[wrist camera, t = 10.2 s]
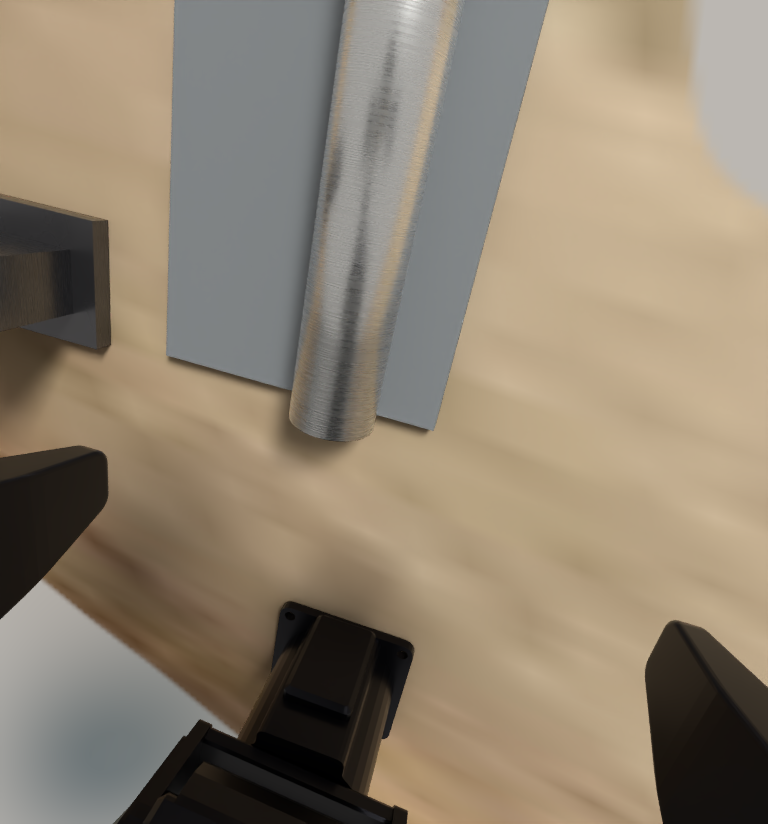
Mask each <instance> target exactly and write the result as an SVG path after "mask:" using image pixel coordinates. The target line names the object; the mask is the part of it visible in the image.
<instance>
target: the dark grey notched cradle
mask: <svg viewBox="0 0 768 824" xmlns="http://www.w3.org/2000/svg"><path fill="white" fill-rule="evenodd" d="M17 327H20V328H24V329H27V330H31V331H34V332H38V333H41V334H45V335H48V336H52V337H55V338H59V339H62V340H66V341H69V342H73V343H76V344H80V345H83V346H87V347H90V348H94V349H99V348H102V347H105V346H108V345H111V335H110V292H109V249H108V220H104V219H100V218H96V217H92V216H88V215H84V214H80V213H76V212H72V211H68V210H64V209H60V208H56V207H52V206H48V205H44V204H40V203H36V202H32V201H28V200H24V199H20V198H16V197H12V196H7V195H3V194H0V331H4V330H9V329H13V328H17Z"/></svg>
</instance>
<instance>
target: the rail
mask: <svg viewBox="0 0 768 824" xmlns="http://www.w3.org/2000/svg"><path fill="white" fill-rule="evenodd" d="M464 3H465V0H345V5H344V13H343V20H342V27H341V35H340V42H339V49H338V57H337V64H336V71H335V79H334V86H333V94H332V101H331V108H330V116H329V123H328V130H327V138H326V145H325V152H324V160H323V167H322V174H321V182H320V189H319V197H318V204H317V211H316V219H315V226H314V233H313V241H312V248H311V255H310V263H309V270H308V277H307V285H306V292H305V300H304V307H303V314H302V322H301V329H300V336H299V344H298V351H297V358H296V366H295V373H294V381H293V388H292V395H291V403H290V410H289V419H290V421H291V423H292V424H293V425H294V426H295V427H296V428H297V429H299V430H300V431H302V432H304V433H306V434H308V435H311V436H313V437H317V438H320V439H324V440H330V441H342V442H345V441H356V440H360V439H363V438H365V437H367V436H369V435H370V434H371V433H372V431H373V428H374V423H375V419H376V414H377V409H378V405H379V400H380V395H381V391H382V386H383V381H384V377H385V372H386V367H387V363H388V358H389V353H390V349H391V344H392V339H393V335H394V330H395V325H396V321H397V316H398V311H399V307H400V302H401V297H402V293H403V288H404V283H405V279H406V274H407V269H408V265H409V260H410V255H411V251H412V246H413V241H414V237H415V232H416V227H417V222H418V218H419V213H420V208H421V204H422V199H423V194H424V190H425V185H426V180H427V176H428V171H429V166H430V162H431V157H432V152H433V148H434V143H435V138H436V134H437V129H438V124H439V120H440V115H441V110H442V106H443V101H444V96H445V92H446V87H447V82H448V78H449V73H450V68H451V64H452V59H453V54H454V50H455V45H456V40H457V36H458V31H459V26H460V21H461V17H462V12H463V7H464Z"/></svg>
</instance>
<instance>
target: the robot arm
mask: <svg viewBox="0 0 768 824" xmlns="http://www.w3.org/2000/svg"><path fill="white" fill-rule="evenodd" d="M107 499H108V462H107V458H106V455H105V454H104V453H103V452H101V451H99V450H95V449H92V448H88V447H85V446H72V447H66V448H60V449H54V450H47V451H41V452H35V453H28V454H22V455H16V456H9V457H3V458H0V619H1V618H2V617H3V616H4V615H5V614H6V613H8V612H9V611H10V610H11V609H12V608H13V607H14V606H15V605H16V604H17V603H18V602H19V601H20V600H21V599H22V598H23V597H24V596H25V595H26V594H27V593H28V592H29V591H30V590H31V589H32V588H33V587H34V586H35V585H36V584H37V583H38V582H39V581H40V580H41V579H42V578H43V577H44V576H45V575H46V574H47V572H48V571H49V570H50V569H51V568H52V567H53V566H54V565H55V563H56V562H57V561H58V560H59V559H60V558H61V557H62V555H63V554H64V553H65V552H66V551H67V550H68V549H69V547H70V546H71V545H72V544H73V543H74V542H75V540H76V539H77V538H78V537H79V536H80V535H81V534H82V532H83V531H84V530H85V529H86V528H87V527H88V525H89V524H90V523H91V522H92V521H93V520H94V519H95V517H96V516H97V515H98V514H99V513H100V512H101V510H102V509H103V508H104V506H105V504H106V502H107ZM290 612H291V613H290ZM292 613H293V614H292ZM402 651H404V652H402ZM413 655H414V647H413V645H412V644H411V643H410V642H408V641H406V640H403V639H401V638H398V637H395V636H392V635H389V634H386V633H383V632H380V631H377V630H374V629H371V628H368V627H365V626H362V625H360V624H357V623H354V622H351V621H348V620H345V619H342V618H339V617H336V616H333V615H330V614H327V613H324V612H321V611H319V610H316V609H313V608H310V607H307V606H304V605H301V604H298V603H295V602H287V603H286V604H285V605H284V606H283V608H282V610H281V612H280V617H279V623H278V630H277V636H276V643H275V649H274V656H273V663H272V669H271V674H270V676H269V678H268V680H267V682H266V684H265V686H264V688H263V690H262V692H261V694H260V696H259V697H258V699H257V701H256V703H255V705H254V707H253V709H252V711H251V713H250V715H249V717H248V719H247V721H246V723H245V724H244V726H243V728H242V730H241V732H240V734H239V736H238V738H235V737H232V736H230V735H228V734H225V733H223V732H221V731H219V730H216V729H214V728H212V724H210V723H207V722H205V721H203V720H201V719H200V720H199V721H198V722H197V723H196V725H195V726H194V727H193V729H192V730H191V731H190V733H189V734H188V735H187V737H186V736H183V737H182V738H181V740H180V741H179V742H178V744H177V745H176V746H175V748H174V749H173V750H172V752H171V753H170V754H169V756H168V757H167V758H166V760H165V761H164V762H163V763H162V765H161V766H160V767H159V769H158V770H157V771H156V773H155V774H154V775H153V777H152V778H151V779H150V780H149V782H148V783H147V784H146V786H145V787H144V788H143V790H142V791H141V792H140V794H139V795H138V796H137V798H136V799H135V800H134V802H133V803H132V804H131V806H130V807H129V808H128V809H127V810H126V811H125V812H124V813H123V814H122V815H121V816H120V817H119V818H118V819H117V820H116V821H115V822H114V823H113V824H407V815H408V811H407V810H405V809H402V808H400V807H398V806H396V805H394V806H393V807H391V806H389V805H386V804H384V803H382V802H380V801H377V800H375V799H373V798H371V797H368V792H369V787H370V783H371V779H372V775H373V771H374V767H375V763H376V759H377V755H378V751H379V747H380V743H381V739H385V738H387V737H388V736H389V733H390V730H391V727H392V723H393V720H394V717H395V714H396V711H397V707H398V704H399V701H400V698H401V695H402V691H403V688H404V685H405V682H406V679H407V675H408V672H409V669H410V666H411V662H412V659H413ZM645 683H646V693H647V703H648V713H649V723H650V733H651V743H652V753H653V763H654V773H655V781H656V788H657V795H658V800H659V806H660V811H661V816H662V821H663V824H768V687H767V686H766V685H765V684H763V683H762V682H761V681H760V680H759V679H758V678H757V677H756V676H755V675H754V674H753V673H752V672H751V671H749V670H748V669H747V668H746V667H745V666H744V665H743V664H742V663H741V662H740V661H739V660H738V659H736V658H735V657H734V656H733V655H732V654H731V653H730V652H729V651H728V650H727V649H726V648H725V647H724V646H722V645H721V644H720V643H719V642H718V641H717V640H716V639H715V638H714V637H713V636H712V635H711V634H710V633H708V632H707V631H706V630H705V629H703V628H701V627H698V626H695V625H691V624H688V623H685V622H681V621H678V620H674V621H670V622H669V623H668V624H667V625H666V626H665V628H664V630H663V632H662V634H661V635H660V637H659V639H658V641H657V643H656V645H655V647H654V649H653V651H652V653H651V655H650V657H649V659H648V661H647V664H646V669H645Z"/></svg>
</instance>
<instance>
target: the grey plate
mask: <svg viewBox="0 0 768 824" xmlns="http://www.w3.org/2000/svg"><path fill="white" fill-rule="evenodd" d="M548 2H549V0H465V3H464V7H463V12H462V17H461V21H460V26H459V31H458V36H457V40H456V45H455V50H454V54H453V59H452V64H451V68H450V73H449V78H448V82H447V87H446V92H445V96H444V101H443V106H442V110H441V115H440V120H439V124H438V129H437V134H436V138H435V143H434V148H433V152H432V157H431V162H430V166H429V171H428V176H427V180H426V185H425V190H424V194H423V199H422V204H421V208H420V213H419V218H418V222H417V227H416V232H415V237H414V241H413V246H412V251H411V255H410V260H409V265H408V269H407V274H406V279H405V283H404V288H403V293H402V297H401V302H400V307H399V311H398V316H397V321H396V325H395V330H394V335H393V339H392V344H391V349H390V353H389V358H388V363H387V367H386V372H385V377H384V381H383V386H382V391H381V395H380V400H379V405H378V409H377V414H376V415H379V416H382V417H386V418H390V419H393V420H397V421H400V422H404V423H407V424H411V425H414V426H418V427H421V428H425V429H428V430H432V431H434V428H435V425H436V421H437V418H438V414H439V410H440V406H441V403H442V399H443V395H444V391H445V388H446V384H447V380H448V376H449V373H450V369H451V365H452V361H453V358H454V354H455V350H456V347H457V343H458V339H459V335H460V332H461V328H462V324H463V320H464V317H465V313H466V309H467V305H468V302H469V298H470V294H471V290H472V287H473V283H474V279H475V275H476V272H477V268H478V264H479V260H480V257H481V253H482V249H483V245H484V242H485V238H486V234H487V230H488V227H489V223H490V219H491V216H492V212H493V208H494V204H495V201H496V197H497V193H498V189H499V186H500V182H501V178H502V174H503V171H504V167H505V163H506V159H507V156H508V152H509V148H510V144H511V141H512V137H513V133H514V129H515V126H516V122H517V118H518V114H519V111H520V107H521V103H522V99H523V96H524V92H525V88H526V85H527V81H528V77H529V73H530V70H531V66H532V62H533V58H534V55H535V51H536V47H537V43H538V40H539V36H540V32H541V28H542V25H543V21H544V17H545V13H546V10H547V6H548ZM344 5H345V0H175V8H174V50H173V93H172V135H171V178H170V221H169V263H168V306H167V348H166V355H167V356H170V357H174V358H178V359H181V360H185V361H188V362H192V363H195V364H199V365H202V366H206V367H209V368H213V369H216V370H220V371H223V372H227V373H231V374H234V375H238V376H241V377H245V378H248V379H252V380H255V381H259V382H262V383H266V384H269V385H273V386H276V387H280V388H284V389H287V390H291V391H292V388H293V381H294V373H295V366H296V358H297V351H298V344H299V336H300V329H301V322H302V314H303V307H304V300H305V292H306V285H307V277H308V270H309V263H310V255H311V248H312V241H313V233H314V226H315V219H316V211H317V204H318V197H319V189H320V182H321V174H322V167H323V160H324V152H325V145H326V138H327V130H328V123H329V116H330V108H331V101H332V94H333V86H334V79H335V71H336V64H337V57H338V49H339V42H340V35H341V27H342V20H343V13H344Z"/></svg>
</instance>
